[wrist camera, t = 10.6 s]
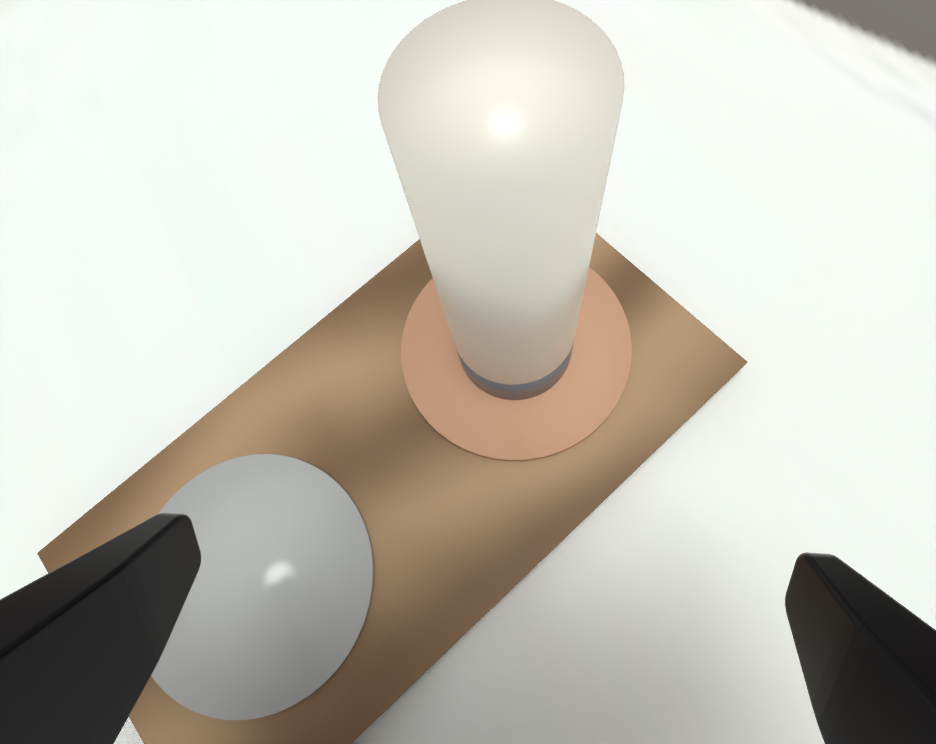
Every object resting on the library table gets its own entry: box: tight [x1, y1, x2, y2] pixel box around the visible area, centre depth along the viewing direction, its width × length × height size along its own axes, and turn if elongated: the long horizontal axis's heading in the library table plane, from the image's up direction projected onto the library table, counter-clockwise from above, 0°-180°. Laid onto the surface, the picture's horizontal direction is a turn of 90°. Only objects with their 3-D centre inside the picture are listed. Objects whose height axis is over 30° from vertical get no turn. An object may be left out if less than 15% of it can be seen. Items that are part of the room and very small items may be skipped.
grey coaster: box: [151, 454, 375, 720], centre depth 21 cm, size 9×9×1 cm
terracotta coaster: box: [401, 267, 632, 461], centre depth 23 cm, size 9×9×1 cm
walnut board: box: [38, 233, 747, 744], centre depth 22 cm, size 13×25×1 cm, turn 131°
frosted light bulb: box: [378, 0, 624, 400], centre depth 16 cm, size 4×4×13 cm
